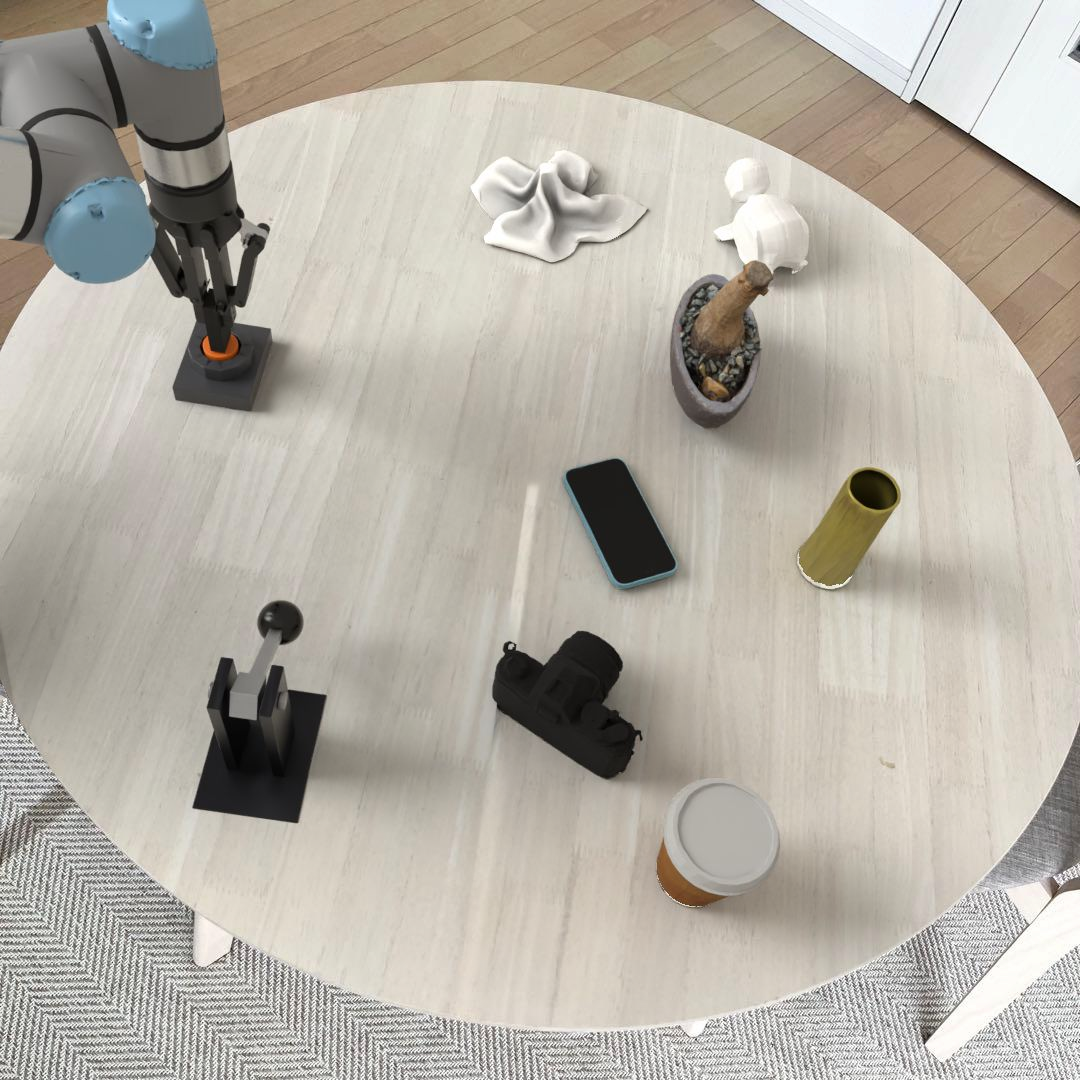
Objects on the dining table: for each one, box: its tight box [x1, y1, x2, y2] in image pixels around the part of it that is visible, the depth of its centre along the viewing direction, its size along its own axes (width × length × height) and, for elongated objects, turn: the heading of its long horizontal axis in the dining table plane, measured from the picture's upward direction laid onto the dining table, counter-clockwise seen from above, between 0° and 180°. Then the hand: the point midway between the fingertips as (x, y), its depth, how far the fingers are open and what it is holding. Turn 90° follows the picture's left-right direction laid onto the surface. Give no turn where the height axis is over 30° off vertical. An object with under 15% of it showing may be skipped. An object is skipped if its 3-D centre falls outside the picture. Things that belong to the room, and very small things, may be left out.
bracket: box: [191, 656, 327, 824], centre depth 94 cm, size 12×9×15 cm
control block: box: [171, 319, 273, 413], centre depth 121 cm, size 8×10×4 cm
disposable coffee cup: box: [656, 777, 781, 908], centre depth 95 cm, size 10×10×12 cm
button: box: [203, 334, 239, 362], centre depth 119 cm, size 4×4×2 cm
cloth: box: [470, 149, 630, 263], centre depth 139 cm, size 22×19×6 cm
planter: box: [669, 260, 775, 430], centre depth 120 cm, size 15×17×20 cm
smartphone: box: [563, 457, 678, 590], centre depth 117 cm, size 7×1×15 cm
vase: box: [799, 466, 902, 586], centre depth 112 cm, size 6×6×14 cm
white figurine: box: [713, 157, 810, 276], centre depth 139 cm, size 9×8×15 cm
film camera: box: [491, 630, 644, 780], centre depth 103 cm, size 15×10×9 cm, turn 56°
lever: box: [229, 599, 305, 720], centre depth 95 cm, size 14×4×4 cm, turn 175°
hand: (221, 342), depth 119 cm, fingers closed
